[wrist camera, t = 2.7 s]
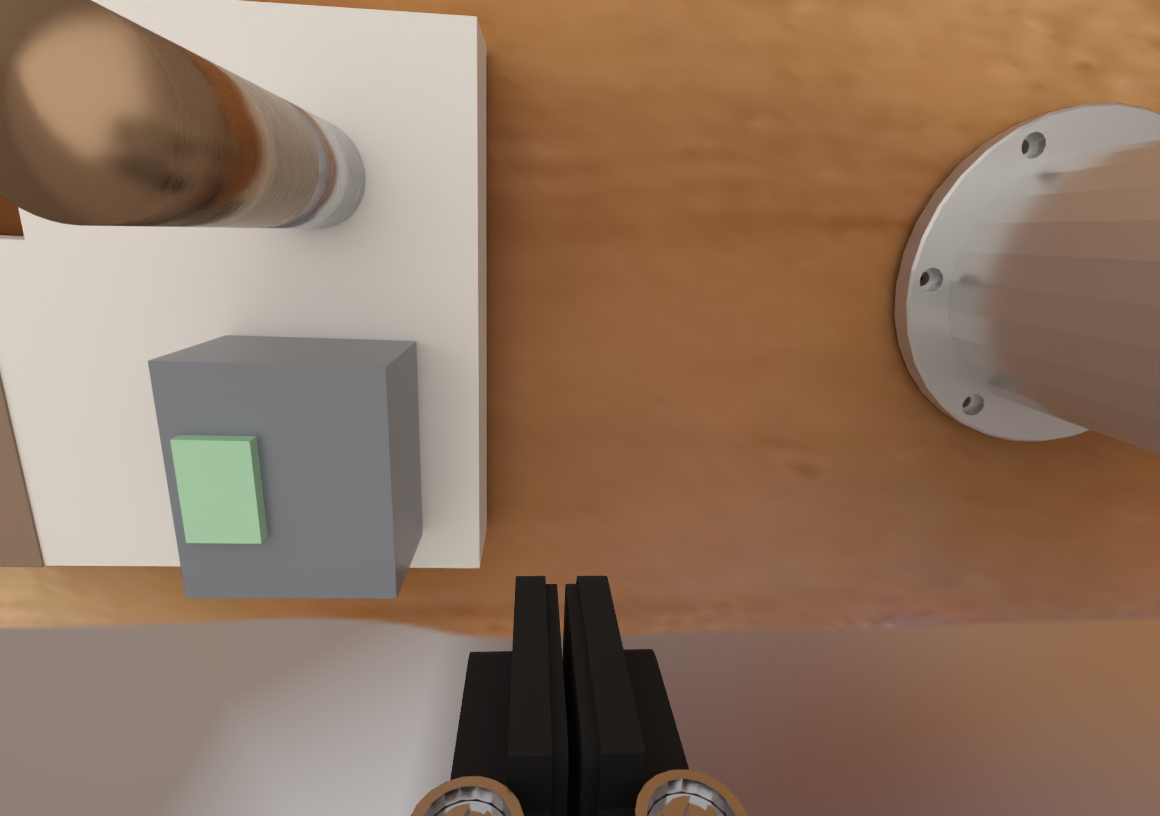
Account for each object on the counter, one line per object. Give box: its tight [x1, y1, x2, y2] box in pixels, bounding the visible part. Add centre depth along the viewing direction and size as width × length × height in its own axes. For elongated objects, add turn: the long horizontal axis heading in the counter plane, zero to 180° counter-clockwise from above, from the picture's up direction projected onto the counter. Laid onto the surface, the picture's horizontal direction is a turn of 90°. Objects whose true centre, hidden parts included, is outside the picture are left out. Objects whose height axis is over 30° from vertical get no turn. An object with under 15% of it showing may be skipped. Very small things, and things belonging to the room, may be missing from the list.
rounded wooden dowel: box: [0, 0, 366, 229], centre depth 14 cm, size 3×3×10 cm
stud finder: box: [148, 335, 423, 599], centre depth 18 cm, size 6×7×4 cm
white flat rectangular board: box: [0, 0, 487, 568], centre depth 21 cm, size 22×18×3 cm
